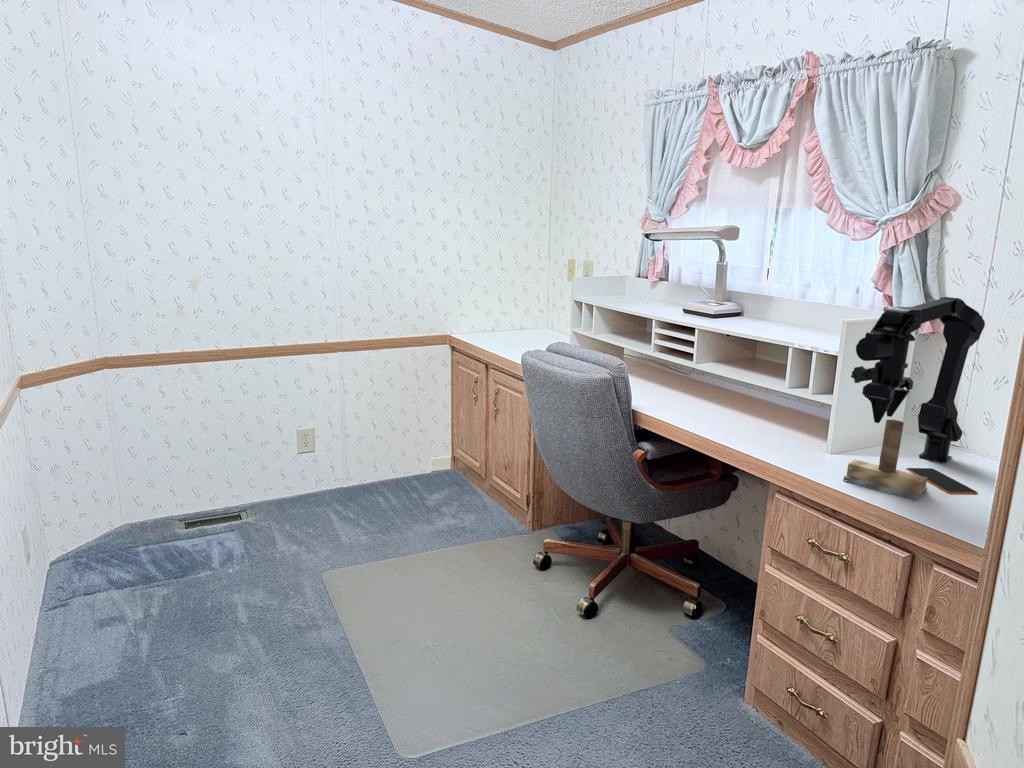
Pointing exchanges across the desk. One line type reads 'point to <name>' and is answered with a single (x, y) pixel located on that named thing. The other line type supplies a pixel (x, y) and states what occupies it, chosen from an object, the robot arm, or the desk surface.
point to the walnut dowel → (890, 446)
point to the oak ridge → (886, 480)
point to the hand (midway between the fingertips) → (883, 419)
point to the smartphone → (942, 481)
